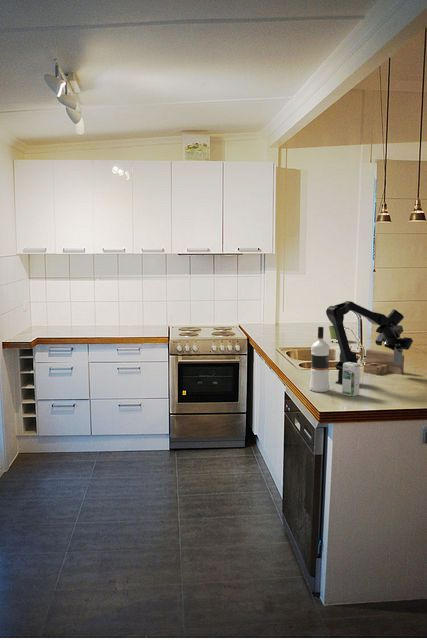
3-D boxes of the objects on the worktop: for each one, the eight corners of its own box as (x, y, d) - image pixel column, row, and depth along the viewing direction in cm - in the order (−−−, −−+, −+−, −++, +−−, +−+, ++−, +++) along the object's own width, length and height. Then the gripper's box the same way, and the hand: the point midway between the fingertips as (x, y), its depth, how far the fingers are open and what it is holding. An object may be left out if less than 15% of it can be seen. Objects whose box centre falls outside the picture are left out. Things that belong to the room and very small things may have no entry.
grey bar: (397, 365, 277) (398, 340, 275) (393, 364, 279) (394, 339, 277) (401, 364, 280) (403, 339, 278) (397, 363, 281) (398, 339, 280)
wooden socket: (388, 377, 279) (388, 358, 277) (353, 370, 296) (353, 352, 294) (403, 373, 287) (404, 355, 286) (368, 366, 304) (369, 349, 303)
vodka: (307, 387, 257) (308, 325, 253) (326, 387, 258) (328, 325, 254) (311, 392, 248) (313, 328, 244) (331, 392, 248) (333, 328, 245)
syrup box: (341, 394, 245) (342, 363, 243) (348, 392, 249) (349, 361, 247) (352, 396, 241) (353, 365, 239) (359, 394, 245) (360, 363, 243)
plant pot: (327, 343, 384) (327, 327, 382) (328, 340, 395) (329, 325, 393) (344, 343, 380) (344, 328, 379) (345, 341, 391) (345, 325, 390)
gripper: (411, 322, 267) (422, 341, 275) (379, 318, 281) (390, 337, 289) (402, 339, 263) (413, 359, 271) (369, 334, 277) (381, 353, 285)
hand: (399, 351), depth 279 cm, fingers closed on grey bar, 2 cm apart
